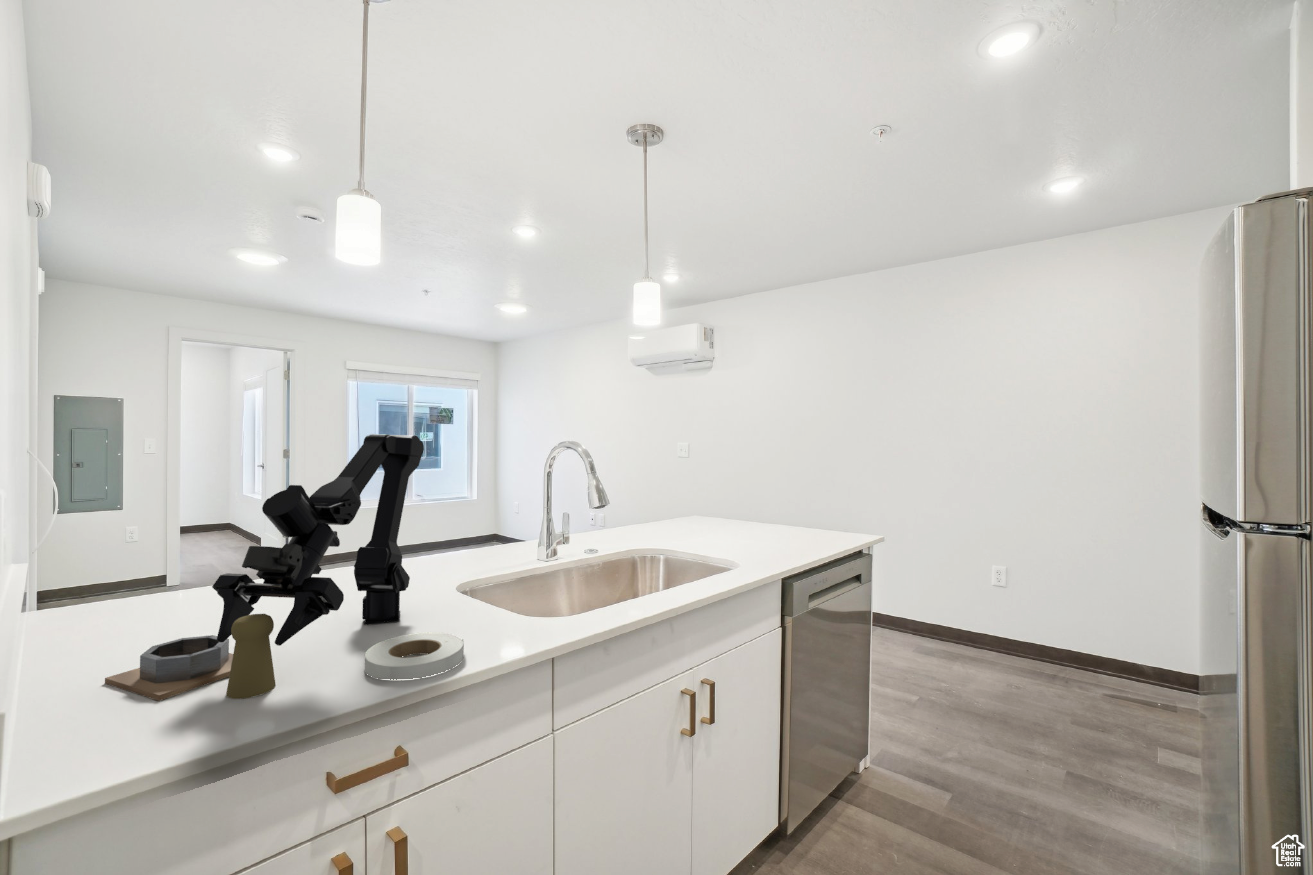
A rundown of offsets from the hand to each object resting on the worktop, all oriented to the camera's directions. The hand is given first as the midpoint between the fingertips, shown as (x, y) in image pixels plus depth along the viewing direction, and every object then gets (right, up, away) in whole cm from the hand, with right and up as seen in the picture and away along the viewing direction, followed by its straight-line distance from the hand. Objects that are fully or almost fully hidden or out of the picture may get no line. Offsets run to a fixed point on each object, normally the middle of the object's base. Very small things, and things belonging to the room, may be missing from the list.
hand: (248, 642), depth 84 cm
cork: (0, -8, +1) cm, 8 cm away
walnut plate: (-14, -7, +6) cm, 17 cm away
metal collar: (-14, -7, +6) cm, 17 cm away
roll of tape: (+20, -8, +12) cm, 25 cm away
